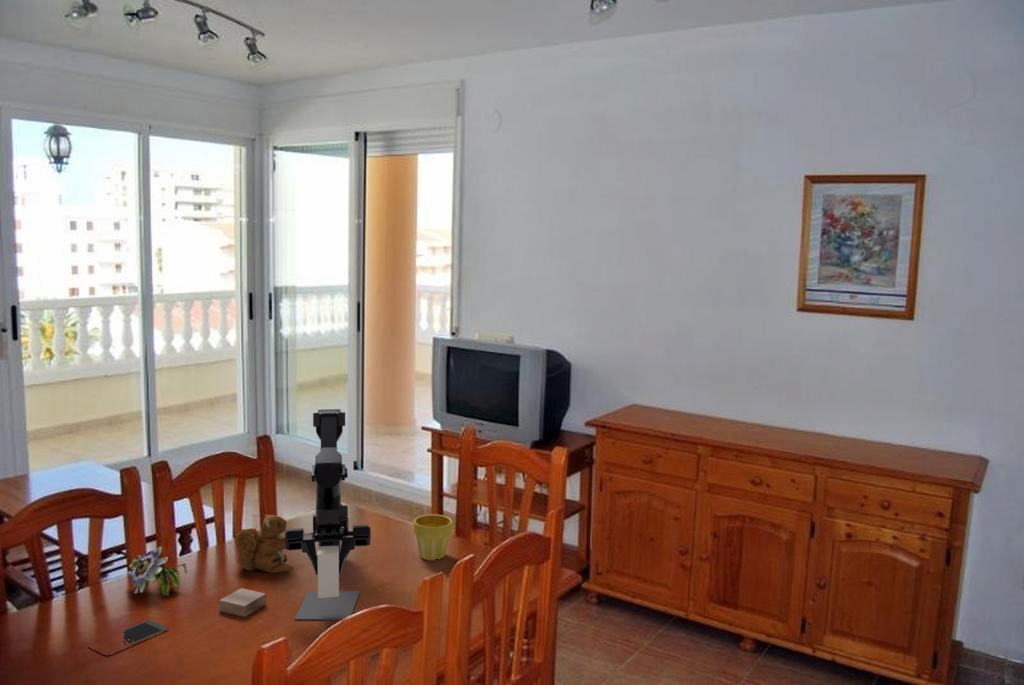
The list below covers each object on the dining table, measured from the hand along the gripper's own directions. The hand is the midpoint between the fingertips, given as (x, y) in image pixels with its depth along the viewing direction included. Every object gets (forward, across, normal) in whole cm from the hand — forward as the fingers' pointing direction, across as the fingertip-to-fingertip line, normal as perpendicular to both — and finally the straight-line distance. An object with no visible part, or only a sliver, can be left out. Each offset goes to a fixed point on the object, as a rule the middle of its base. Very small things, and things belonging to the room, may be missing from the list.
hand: (328, 573), depth 174 cm
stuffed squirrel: (-14, -16, +29) cm, 36 cm away
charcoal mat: (+3, 0, +10) cm, 11 cm away
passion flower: (-8, -40, +22) cm, 46 cm away
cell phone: (+10, -40, +5) cm, 42 cm away
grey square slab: (+2, -19, +12) cm, 22 cm away
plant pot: (-14, +27, +29) cm, 42 cm away
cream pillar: (+3, 0, +4) cm, 5 cm away
